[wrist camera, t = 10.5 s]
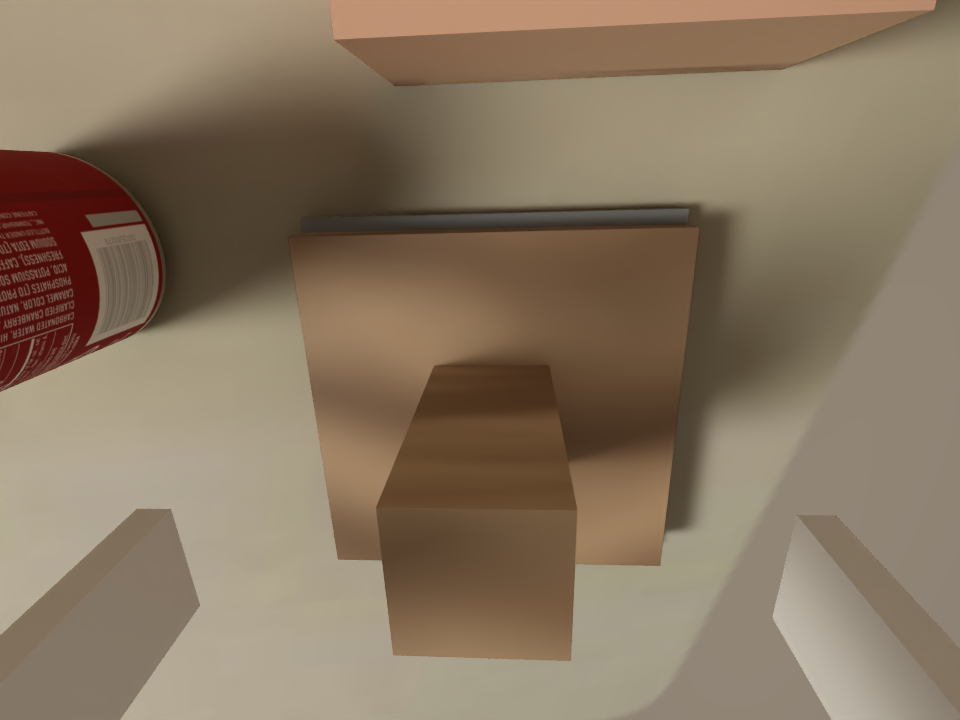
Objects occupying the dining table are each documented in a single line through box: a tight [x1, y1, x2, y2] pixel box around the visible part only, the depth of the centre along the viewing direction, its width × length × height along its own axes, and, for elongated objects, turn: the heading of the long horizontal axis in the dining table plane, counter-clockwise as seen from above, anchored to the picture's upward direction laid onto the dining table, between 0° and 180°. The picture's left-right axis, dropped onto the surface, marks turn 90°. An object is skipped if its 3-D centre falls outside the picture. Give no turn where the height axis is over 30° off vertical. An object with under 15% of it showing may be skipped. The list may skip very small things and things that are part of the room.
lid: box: [288, 224, 699, 661], centre depth 15 cm, size 13×13×9 cm
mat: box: [301, 208, 689, 233], centre depth 20 cm, size 14×13×1 cm
